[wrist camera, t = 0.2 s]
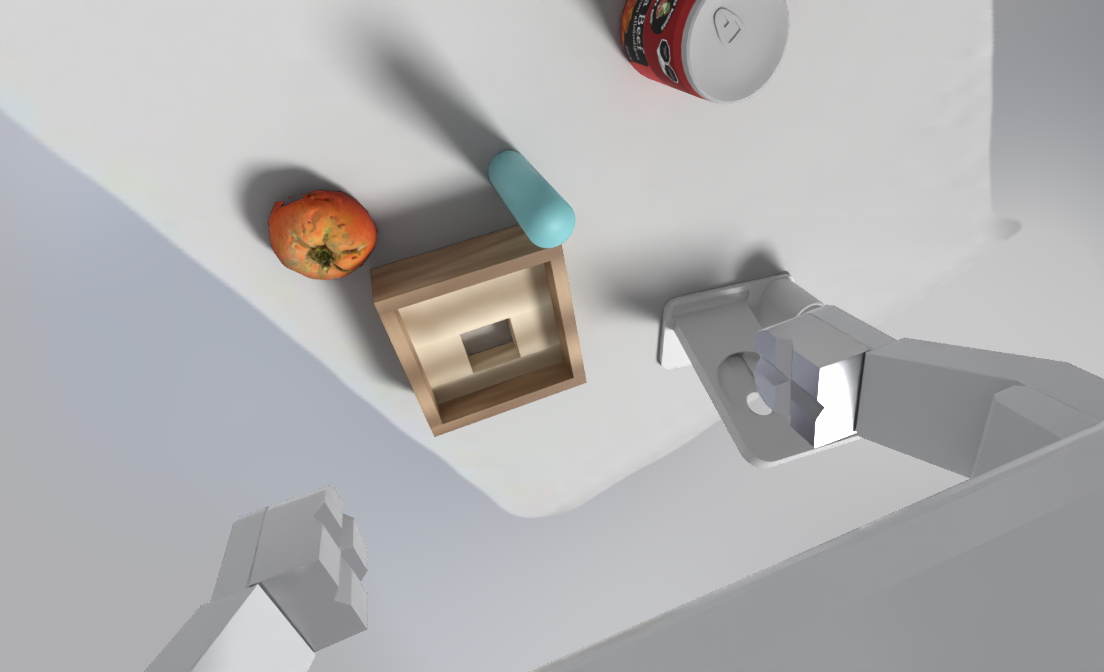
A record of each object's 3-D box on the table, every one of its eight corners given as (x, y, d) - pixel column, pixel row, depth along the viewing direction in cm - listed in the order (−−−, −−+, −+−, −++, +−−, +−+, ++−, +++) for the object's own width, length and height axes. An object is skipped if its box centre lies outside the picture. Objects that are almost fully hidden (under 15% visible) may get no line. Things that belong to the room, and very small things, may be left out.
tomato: (243, 262, 42) (274, 245, 37) (267, 184, 44) (300, 157, 39) (341, 295, 48) (379, 284, 42) (359, 224, 49) (398, 205, 44)
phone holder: (796, 270, 64) (924, 357, 50) (779, 339, 70) (890, 434, 56) (664, 299, 60) (763, 402, 46) (658, 370, 66) (744, 480, 52)
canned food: (646, -52, 40) (729, -57, 32) (721, 1, 44) (813, 10, 36) (600, 52, 43) (664, 74, 35) (673, 94, 47) (747, 122, 39)
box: (370, 269, 47) (373, 303, 43) (540, 217, 50) (561, 244, 45) (426, 398, 57) (434, 436, 52) (567, 349, 59) (586, 382, 55)
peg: (483, 156, 45) (520, 207, 36) (523, 145, 46) (571, 192, 36) (493, 196, 47) (531, 254, 38) (532, 185, 48) (578, 239, 38)
